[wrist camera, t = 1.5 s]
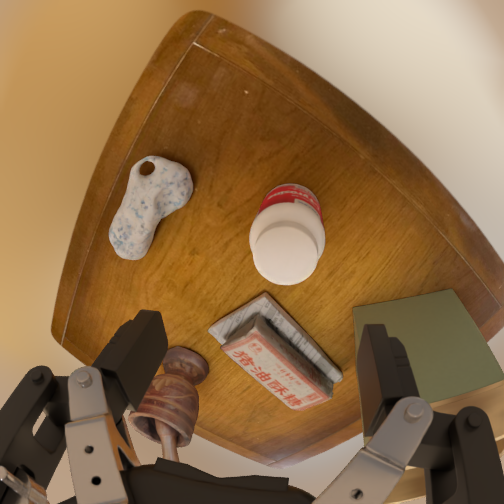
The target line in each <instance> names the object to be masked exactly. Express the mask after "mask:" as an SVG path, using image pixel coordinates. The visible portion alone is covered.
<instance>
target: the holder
mask: <svg viewBox="0 0 504 504" xmlns="http://www.w3.org/2000/svg"><path fill="white" fill-rule="evenodd" d="M430 406H431V407H432V410H433V411H436V412H440V413H446V414H453V415H457V413H458V412H459V411H460V410H461V409H462V408H464V407H467V406H475V407H478V408H480V409H482V410H483V411H484V412H485V413H486V414H487V415H488V417H489V420H490V423H491V427H492V430H493V433H494V437H495V441H496V444H497V448H498V452H499V456H500V458H501V457H502V456H503V455H504V380H502V381H499V382H497V383H494V384H491V385H489V386H486V387H483V388H480V389H477V390H474V391H471V392H468V393H465V394H462V395H458V396H455V397H452V398H448V399H445V400H441V401H438V402H434V403H430ZM372 437H373V436H372ZM372 437H369V441H370V439H371V438H372ZM423 497H426V488H425V476H424V468H418V467H412V466H406V468H405V472H404V474H403V475H402V477H401V478H400V480H399V481H398V483H397V484H396V486H395V487H394V489H393V490H392V492H391V493H390V494H389V496H388V497H387V499H386V500H385V501H384V503H383V504H398V503H403V502H407V501H411V500H415V499H419V498H423Z"/></svg>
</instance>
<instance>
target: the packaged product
mask: <svg viewBox="0 0 504 504" xmlns="http://www.w3.org/2000/svg"><path fill="white" fill-rule="evenodd" d="M208 332H209V333H210V334H212V335H213V336H214V337H215V338H216V339H217V341H218V342H220V343H221V344H222V345H221V347H220V348H221V349H222V350H223V351H224V352H225V353H226V354H227V355H228V356H229V357H230V358H231V359H232V360H234V361H235V362H236V363H237V364H238V365H239V366H240V367H241V368H243V369H244V370H245V371H246V372H247V373H249V374H250V375H251V376H252V377H253V378H254V379H256V380H257V381H258V382H259V383H260V384H262V385H263V386H264V387H265V388H266V389H268V390H269V391H270V392H271V393H273V394H274V395H275V396H276V397H277V398H279V399H280V400H281V401H282V402H283V403H285V404H286V405H287V406H288V407H290V408H291V409H293V410H300V411H301V410H305V409H306V408H310V407H311V406H314V405H318V404H320V403H322V402H325V401H327V400H329V399H331V398H332V395H333V392H332V390H333V384H334V383H337V382H340V381H341V380H342V379H343V373H342V372H341V371H340V370H339V369H338V368H337V367H336V366H335V365H334V364H333V363H332V362H331V360H330V359H329V358H328V357H327V356H326V355H325V353H324V352H323V351H322V350H321V349H320V347H319V346H318V345H317V344H316V343H315V342H314V340H313V339H312V338H311V337H310V336H309V335H308V334H307V333H306V332H305V331H304V330H303V329H302V328H301V327H300V326H299V325H298V324H297V323H296V322H295V321H294V320H293V319H292V318H291V317H290V316H289V315H288V314H287V313H286V312H285V311H284V310H283V309H282V308H281V307H280V306H279V305H278V304H277V303H276V302H275V301H274V300H273V299H272V298H271V297H270V296H269V295H268V294H267V293H266V292H265V293H263V294H262V295H260V296H259V297H257V298H255V299H254V300H252V301H251V302H249V303H247V304H246V305H244V306H242V307H241V308H239V309H237V310H236V311H234V312H232V313H231V314H229V315H227V316H226V317H224V318H222V319H221V320H219V321H217V322H216V323H215V324H213V325H212V326H210V328H209V329H208Z"/></svg>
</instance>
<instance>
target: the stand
mask: <svg viewBox="0 0 504 504" xmlns="http://www.w3.org/2000/svg"><path fill="white" fill-rule="evenodd" d="M353 321H354V336H355V356H356V363H357V353H358V349H359V345H360V341H361V336H362V332H363V327H364V325H365V324H384V325H385V327H386V330H387V333H388V337H397V338H398V339H399V340H400V342H401V343H402V344H403V345H404V346H405V349H406V352H407V355H408V359H409V362H410V366H411V368H412V371H413V374H414V378H415V381H416V384H417V388H418V391H419V395H420V398H422V399H424V400H425V401H426V402H428V403H429V404H430V403H434V402H438V401H441V400H445V399H448V398H452V397H455V396H458V395H462V394H465V393H468V392H471V391H474V390H477V389H480V388H483V387H486V386H489V385H491V384H494V383H497V382H499V381H502V380H504V373H503V371H502V369H501V367H500V365H499V364H498V362H497V360H496V358H495V356H494V355H493V353H492V351H491V349H490V347H489V346H488V344H487V342H486V341H485V339H484V337H483V336H482V334H481V332H480V331H479V329H478V327H477V326H476V324H475V323H474V321H473V319H472V318H471V316H470V315H469V313H468V312H467V310H466V308H465V307H464V305H463V304H462V302H461V301H460V299H459V298H458V297H457V295H456V294H455V292H454V291H453V289H447V290H442V291H438V292H433V293H428V294H424V295H419V296H414V297H409V298H403V299H398V300H393V301H387V302H382V303H376V304H370V305H364V306H358V307H353ZM356 374H357V366H356ZM357 382H358V375H357ZM358 390H359V382H358ZM359 398H360V390H359ZM360 407H361V398H360ZM361 416H362V407H361ZM362 427H363V438H364V447H365V446H366V444H367V443H368V442H369V437H364V426H363V416H362Z"/></svg>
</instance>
